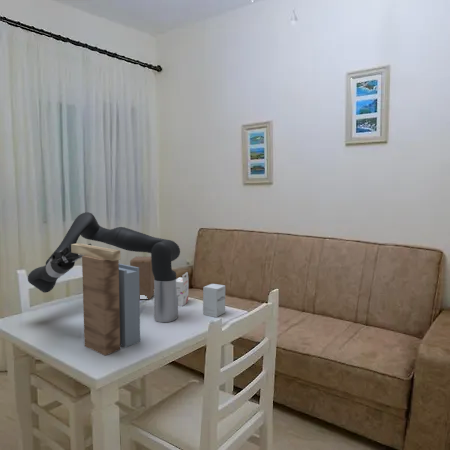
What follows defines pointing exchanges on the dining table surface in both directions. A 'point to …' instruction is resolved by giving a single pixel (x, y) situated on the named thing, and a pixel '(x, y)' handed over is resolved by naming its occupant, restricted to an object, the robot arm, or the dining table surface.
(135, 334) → the grey post
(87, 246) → the bar
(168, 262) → the robot arm
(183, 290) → the ink cartridge box
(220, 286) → the supplement box
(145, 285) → the wooden block
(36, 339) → the dining table surface
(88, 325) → the walnut tower
